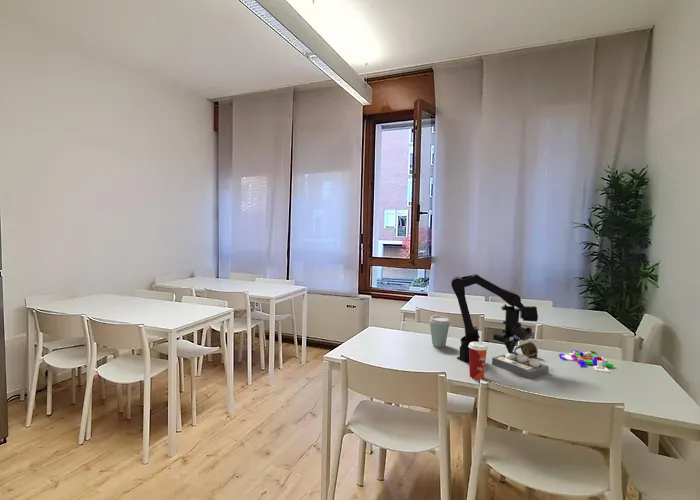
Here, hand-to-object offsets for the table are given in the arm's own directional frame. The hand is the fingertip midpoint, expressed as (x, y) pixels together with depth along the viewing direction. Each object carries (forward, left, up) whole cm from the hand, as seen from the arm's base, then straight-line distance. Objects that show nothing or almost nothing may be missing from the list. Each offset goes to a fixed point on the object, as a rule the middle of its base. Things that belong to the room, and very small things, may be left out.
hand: (510, 353), depth 180 cm
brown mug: (+14, +3, -5) cm, 15 cm away
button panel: (-2, -6, -5) cm, 8 cm away
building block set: (+34, -15, -6) cm, 38 cm away
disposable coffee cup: (-11, +35, -5) cm, 37 cm away
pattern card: (-6, -6, -2) cm, 8 cm away
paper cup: (-26, -2, -5) cm, 26 cm away
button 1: (0, 0, -4) cm, 4 cm away
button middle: (0, -6, -3) cm, 7 cm away
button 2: (0, -12, -3) cm, 12 cm away
